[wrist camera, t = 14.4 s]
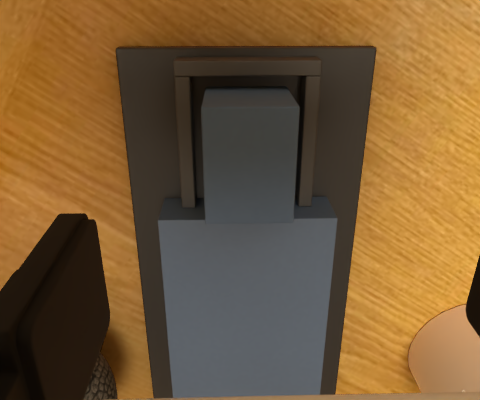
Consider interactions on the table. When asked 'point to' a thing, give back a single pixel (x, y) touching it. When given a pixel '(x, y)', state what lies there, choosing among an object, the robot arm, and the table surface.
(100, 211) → the table surface
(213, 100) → the blue-grey block
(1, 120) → the table surface
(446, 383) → the cylinder with rectangular tab
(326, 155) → the backing plate
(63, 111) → the table surface
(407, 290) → the table surface
